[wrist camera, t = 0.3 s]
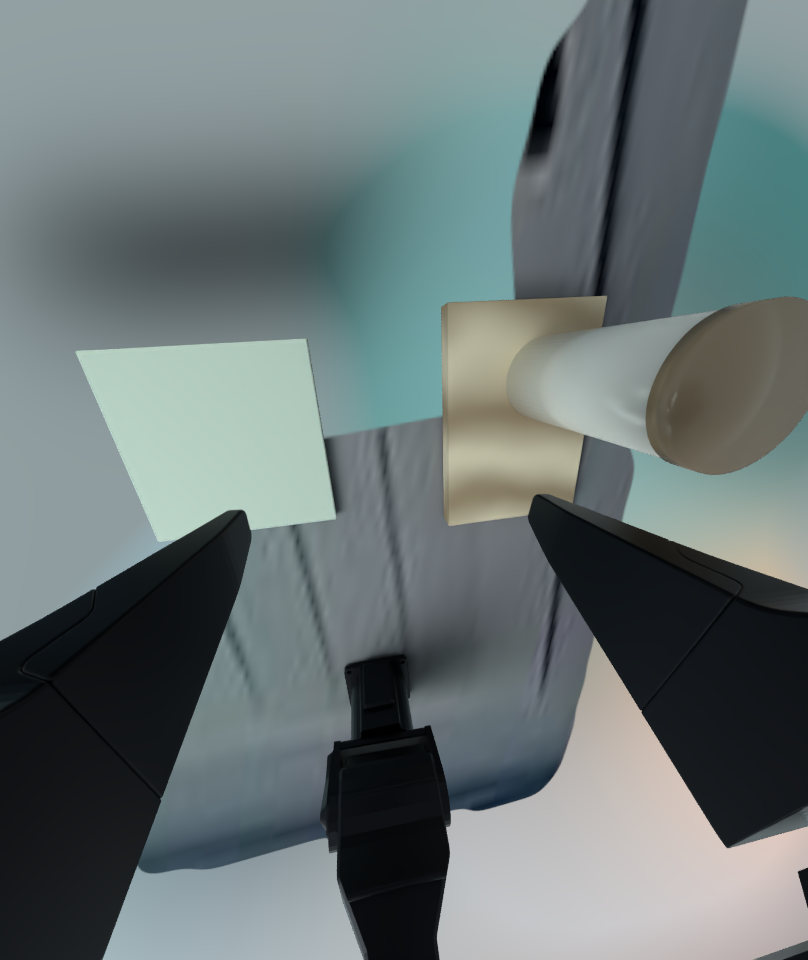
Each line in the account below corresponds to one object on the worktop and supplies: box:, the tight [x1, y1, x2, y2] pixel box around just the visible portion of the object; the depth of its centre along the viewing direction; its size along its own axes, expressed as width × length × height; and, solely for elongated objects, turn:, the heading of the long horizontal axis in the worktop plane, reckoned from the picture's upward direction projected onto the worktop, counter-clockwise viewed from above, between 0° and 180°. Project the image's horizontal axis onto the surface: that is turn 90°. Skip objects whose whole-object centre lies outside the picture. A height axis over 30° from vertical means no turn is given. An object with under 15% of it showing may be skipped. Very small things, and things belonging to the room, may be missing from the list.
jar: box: [506, 297, 808, 475], centre depth 16 cm, size 6×6×12 cm
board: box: [441, 296, 607, 526], centre depth 23 cm, size 16×11×2 cm
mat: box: [75, 339, 337, 542], centre depth 21 cm, size 13×13×1 cm
